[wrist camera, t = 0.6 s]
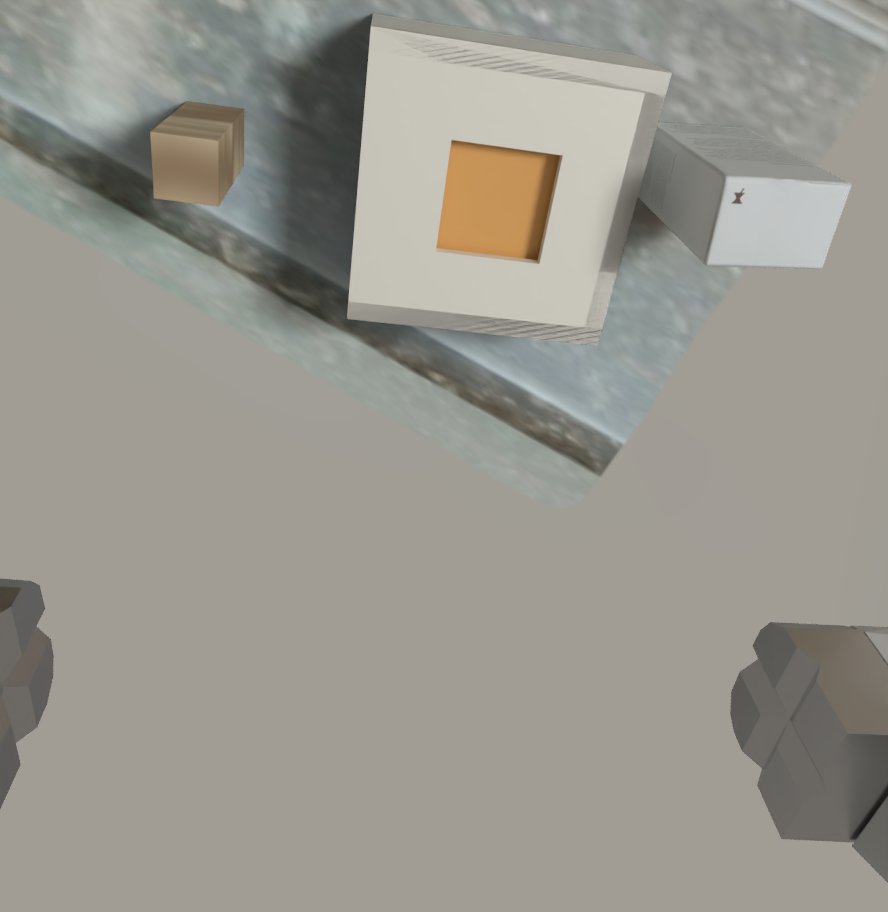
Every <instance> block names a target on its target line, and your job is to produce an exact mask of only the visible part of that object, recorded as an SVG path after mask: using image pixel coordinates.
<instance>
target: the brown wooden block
mask: <svg viewBox="0 0 888 912" xmlns="http://www.w3.org/2000/svg"><path fill="white" fill-rule="evenodd" d="M150 138H151V156H152V174H153V191H154V198H155V199H163V200H171V201H179V202H187V203H196V204H204V205H212V206H219V205H220V203H221V202H222V200H223V199H224V197H225V195H226V194H227V192H228V191H229V189H230V187H231V186H232V184H233V182H234V181H235V179H236V178H237V176H238V174H239V173H240V171H241V170H242V168H243V166H244V109H240V108H232V107H225V106H218V105H211V104H204V103H196V102H189V101H187V102H186V103H184V104H183V105H182V106H181V107H180V108H178V109H177V110H176V111H175V112H174V113H172V114H171V115H170V116H169V117H167V118H166V119H165V120H164V121H163V122H161V123H160V124H159V125H158V126H157V127H155V128H154V129H153V130H152V131H151V132H150Z"/></svg>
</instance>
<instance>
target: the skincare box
mask: <svg viewBox="0 0 888 912" xmlns="http://www.w3.org/2000/svg"><path fill="white" fill-rule="evenodd" d="M850 189H851V184H850V183H849V182H846V181H845V180H843V179H841V178H839V177H837V176H835V175H833V174H832V173H830V172H828V171H826V170H825V169H823V168H821V167H819V166H817V165H815V164H814V163H812V162H810V161H808V160H806V159H804V158H802V157H801V156H799V155H797V154H795V153H793V152H791V151H789V150H787V149H786V148H784V147H782V146H780V145H778V144H776V143H774V142H772V141H771V140H769V139H767V138H765V137H763V136H762V135H760V134H758V133H756V132H754V131H752V130H750V129H748V128H742V127H727V126H709V125H693V124H675V123H658V125H657V129H656V132H655V136H654V140H653V144H652V147H651V151H650V155H649V158H648V162H647V166H646V169H645V173H644V177H643V180H642V184H641V188H640V191H639V195H638V198H639V199H640V200H641V201H642V202H643V203H644V204H645V205H646V206H647V207H648V208H649V209H650V210H651V211H652V212H653V213H654V214H655V215H656V216H657V217H658V218H659V219H660V220H661V221H662V222H663V223H664V224H665V225H666V226H667V227H668V228H669V229H670V230H671V231H672V232H673V233H674V234H675V235H676V236H677V237H678V238H679V239H680V240H681V241H682V242H683V243H684V244H685V245H686V246H687V247H688V248H689V249H690V250H691V251H692V252H693V253H694V254H695V255H696V256H697V257H698V258H699V259H700V260H701V261H702V262H703V263H704V264H705V265H707V266H732V267H769V268H771V267H772V268H807V269H822V267H823V264H824V261H825V258H826V255H827V252H828V249H829V246H830V244H831V241H832V238H833V236H834V233H835V230H836V227H837V225H838V222H839V219H840V216H841V213H842V210H843V208H844V205H845V202H846V199H847V197H848V194H849V191H850Z"/></svg>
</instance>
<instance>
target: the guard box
mask: <svg viewBox="0 0 888 912" xmlns="http://www.w3.org/2000/svg"><path fill="white" fill-rule="evenodd" d="M671 74H672V73H671V72H668V71H666V70H664V69H662V68H660V67H658V66H656V65H654V64H652V63H649V62H647V61H645V60H643V59H641V58H639V57H637V56H635V55H633V54H627V53H620V52H614V51H608V50H601V49H595V48H589V47H582V46H576V45H570V44H563V43H557V42H551V41H544V40H538V39H532V38H526V37H519V36H513V35H507V34H500V33H494V32H488V31H481V30H475V29H469V28H462V27H456V26H450V25H443V24H437V23H431V22H424V21H418V20H412V19H405V18H399V17H393V16H386V15H380V14H374V13H373V16H372V22H371V30H370V42H369V55H368V67H367V79H366V91H365V103H364V116H363V128H362V140H361V152H360V165H359V177H358V189H357V201H356V214H355V226H354V238H353V250H352V262H351V275H350V287H349V299H348V311H347V319H353V320H362V321H371V322H381V323H390V324H399V325H409V326H418V327H427V328H436V329H446V330H455V331H464V332H474V333H483V334H492V335H502V336H511V337H520V338H530V339H539V340H548V341H558V342H567V343H576V344H585V345H595V346H597V345H598V342H599V338H600V334H601V331H602V327H603V323H604V320H605V316H606V312H607V309H608V305H609V301H610V298H611V294H612V290H613V287H614V283H615V279H616V276H617V272H618V268H619V265H620V261H621V257H622V254H623V250H624V246H625V243H626V239H627V235H628V232H629V228H630V224H631V221H632V217H633V213H634V210H635V206H636V202H637V199H638V195H639V191H640V188H641V184H642V180H643V177H644V173H645V169H646V166H647V162H648V158H649V155H650V151H651V147H652V144H653V140H654V136H655V132H656V129H657V125H658V121H659V118H660V114H661V110H662V107H663V103H664V99H665V96H666V92H667V88H668V85H669V81H670V77H671ZM451 140H456V141H463V142H470V143H477V144H484V145H491V146H499V147H506V148H513V149H520V150H527V151H535V152H542V153H549V154H556V155H560V158H559V162H558V167H557V172H556V176H555V181H554V186H553V190H552V195H551V200H550V204H549V209H548V214H547V218H546V223H545V228H544V233H543V237H542V242H541V247H540V251H539V256H538V260H532V259H524V258H516V257H508V256H499V255H491V254H483V253H474V252H466V251H458V250H450V249H441V248H436V247H437V240H438V232H439V225H440V218H441V211H442V204H443V197H444V190H445V183H446V175H447V168H448V161H449V154H450V147H451Z"/></svg>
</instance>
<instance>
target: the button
mask: <svg viewBox="0 0 888 912" xmlns="http://www.w3.org/2000/svg"><path fill="white" fill-rule="evenodd" d="M559 158H560V155H556V154H549V153H542V152H535V151H527V150H520V149H513V148H506V147H499V146H491V145H484V144H477V143H470V142H463V141H456V140H451V147H450V154H449V161H448V168H447V175H446V183H445V190H444V197H443V204H442V211H441V218H440V225H439V232H438V240H437V247H436V248H441V249H450V250H458V251H466V252H474V253H483V254H491V255H499V256H508V257H516V258H524V259H532V260H538V256H539V251H540V247H541V242H542V237H543V233H544V228H545V223H546V218H547V214H548V209H549V204H550V200H551V195H552V190H553V186H554V181H555V176H556V172H557V167H558V162H559Z"/></svg>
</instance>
